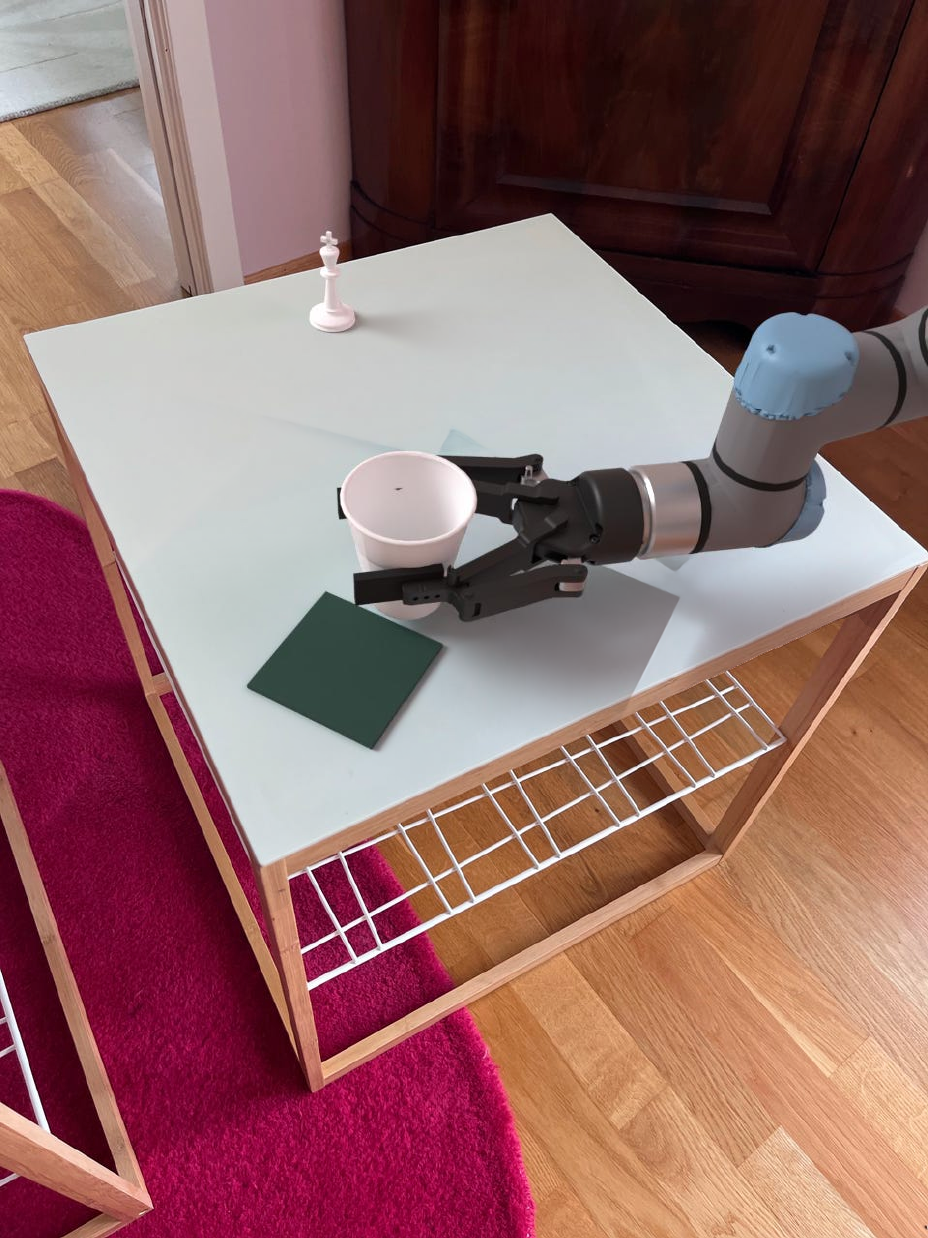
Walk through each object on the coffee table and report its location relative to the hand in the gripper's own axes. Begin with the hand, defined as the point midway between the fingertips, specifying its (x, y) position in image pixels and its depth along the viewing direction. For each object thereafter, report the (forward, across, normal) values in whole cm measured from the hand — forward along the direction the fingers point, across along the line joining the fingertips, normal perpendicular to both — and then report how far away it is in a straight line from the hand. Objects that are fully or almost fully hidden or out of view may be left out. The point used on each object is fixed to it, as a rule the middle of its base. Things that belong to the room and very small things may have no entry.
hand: (346, 545), depth 71 cm
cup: (-5, 0, -7) cm, 8 cm away
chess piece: (-4, +42, -8) cm, 42 cm away
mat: (+1, -5, -8) cm, 10 cm away
